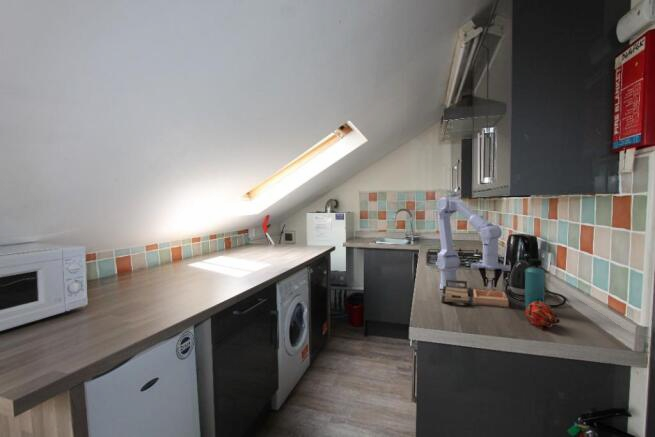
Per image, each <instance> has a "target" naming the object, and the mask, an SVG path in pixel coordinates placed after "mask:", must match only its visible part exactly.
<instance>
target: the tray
mask: <svg viewBox="0 0 655 437" xmlns="http://www.w3.org/2000/svg"><path fill="white" fill-rule="evenodd" d="M472 291H473V292H472V293H473V301H474V305H475V306H477V305H478V306H489V307H497V308H498V307H500V308H507V309H508V308H509V299H508V296H507V294H506V293H505V291H499V290H492V296H487V295H486V289H485V290H484V289H475V288H473V290H472Z"/></svg>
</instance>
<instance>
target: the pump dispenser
mask: <svg viewBox="0 0 655 437" xmlns="http://www.w3.org/2000/svg"><path fill="white" fill-rule="evenodd" d="M528 263H529V261H528V262H527V261H526V260H522V259H521V260H517V261H516V262H515V264H514V265H513V267H512V270H511V271H510V276H509V280H508V285H509V288H510V290H511V292H513V293H514V294H515V295H519V296H524V297H525V270H526V269H527V268H529V267H535V266H533V265H529V264H528Z"/></svg>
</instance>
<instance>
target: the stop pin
mask: <svg viewBox="0 0 655 437" xmlns="http://www.w3.org/2000/svg"><path fill="white" fill-rule="evenodd" d="M494 280H495V278H494V276H486V287H485V290H486V295H487V296H492V291H493V288H494Z"/></svg>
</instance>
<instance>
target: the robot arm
mask: <svg viewBox="0 0 655 437" xmlns="http://www.w3.org/2000/svg"><path fill="white" fill-rule="evenodd" d="M436 206H437V208H436V209H437V221H438V222H437V223H438V229H439V240H440V248H441V250H440V251H439V253H438V254H437V260H436V264H437V267H438V269H439V270H440V284H439V290H443V286H446V280H457V274H458V273H457V271H458V268H459V267H460V265H461V259H460V257H459V254H458V252H457V251H456V250H455V249H454V244H453V243H454V242H453V233H452V225H451V216H453V215H454V214H455V213H456V212H458V213H460V214H461V215H462V216H463V217H465V218H466V219H467V220H468V221H469V225H470V226H471V227H473V228H474V230H476V231H477V232H478V233H479V237H480V238H481V243H482V262H481V263H478V262H476V263H475V262H474V263H470V270H471V269H472V270H474V269H478V271H479V273H480V275H481V278H482V283H483V287H485V288H486V283H487V279H486V277H487V271H486V270H493V272H494V274H493V275H494V276H493V278H495V280H493V288H497V286H498V281H499V279H500V278H501V275H502V274H503V271H507V272H511V265H510V264H499V239H500V238H501V236H502V233H503V232H502V228H501V227H500V226H499V225H497V224H493V223H492V222H491V221H489V220H487V219H486V218H485V217H484V215H483V214H479V213H477V214H476V213H474V212H473V210H471V209H470V208H469V207H468V206H467V205H466V204H465V203H464V200H462V199H461V198H460V197H458V196H456V197H455V196H454V197H444V196H443V197H441V198H439V199H438V201H437V202H436ZM448 286H454V287H458V283H450V282H448Z"/></svg>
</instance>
